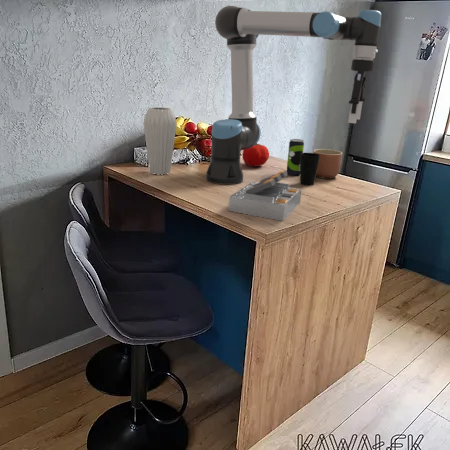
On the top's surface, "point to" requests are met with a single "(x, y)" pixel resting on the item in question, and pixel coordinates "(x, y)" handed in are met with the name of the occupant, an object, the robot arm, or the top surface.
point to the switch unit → (266, 201)
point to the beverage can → (294, 156)
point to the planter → (328, 163)
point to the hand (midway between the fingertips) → (354, 121)
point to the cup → (308, 168)
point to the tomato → (255, 155)
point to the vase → (160, 138)
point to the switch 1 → (261, 186)
